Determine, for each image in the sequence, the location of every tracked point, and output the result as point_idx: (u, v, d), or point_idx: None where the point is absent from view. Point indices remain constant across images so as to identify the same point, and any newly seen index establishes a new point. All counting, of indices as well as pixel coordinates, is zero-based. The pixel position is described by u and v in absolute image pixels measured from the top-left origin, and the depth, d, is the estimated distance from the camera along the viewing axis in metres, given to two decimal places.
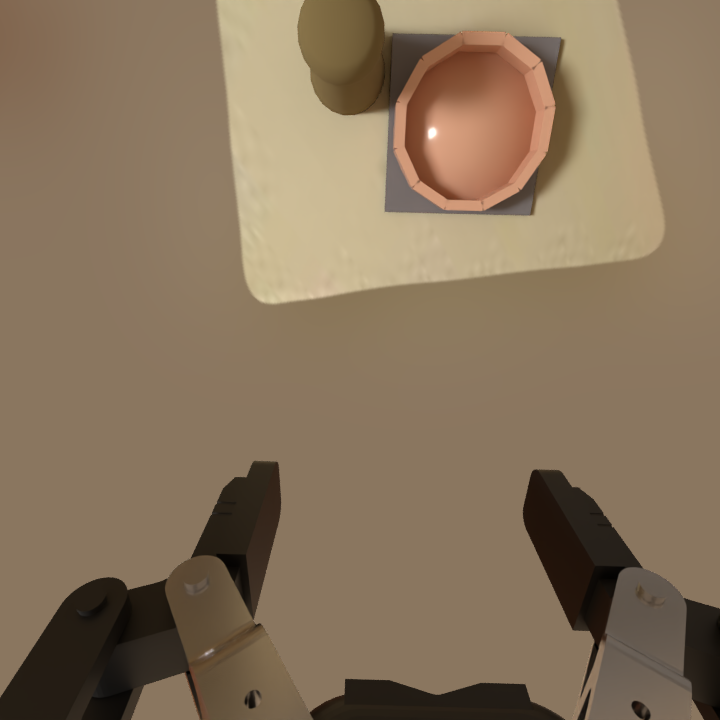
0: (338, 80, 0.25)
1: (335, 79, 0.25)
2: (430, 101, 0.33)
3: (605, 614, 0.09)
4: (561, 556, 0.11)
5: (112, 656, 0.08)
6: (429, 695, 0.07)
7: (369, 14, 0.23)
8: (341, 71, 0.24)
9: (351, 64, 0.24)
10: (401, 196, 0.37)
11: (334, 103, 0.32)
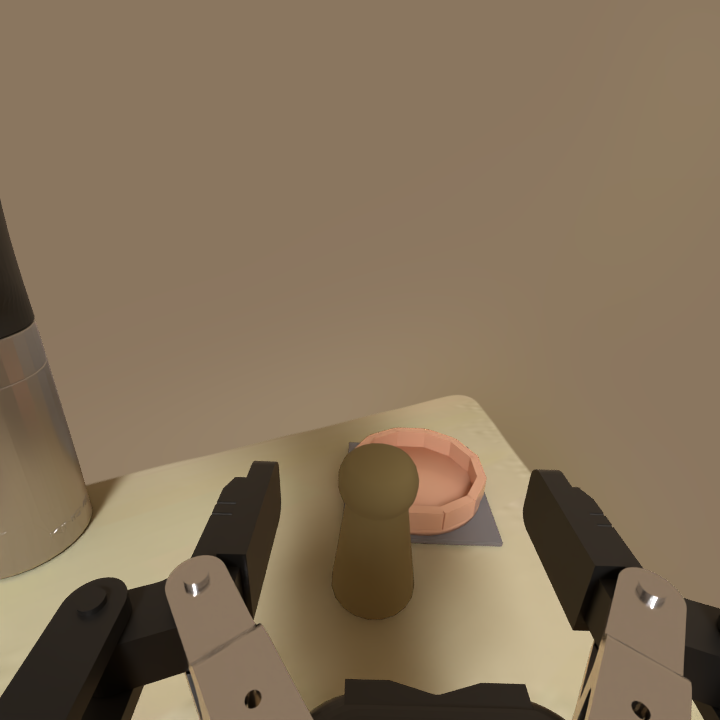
0: (417, 473, 0.26)
1: (417, 474, 0.26)
2: None
3: (605, 614, 0.09)
4: (561, 555, 0.11)
5: (112, 656, 0.08)
6: (429, 695, 0.07)
7: (370, 444, 0.28)
8: (412, 463, 0.26)
9: (407, 455, 0.27)
10: (482, 529, 0.35)
11: (410, 568, 0.29)
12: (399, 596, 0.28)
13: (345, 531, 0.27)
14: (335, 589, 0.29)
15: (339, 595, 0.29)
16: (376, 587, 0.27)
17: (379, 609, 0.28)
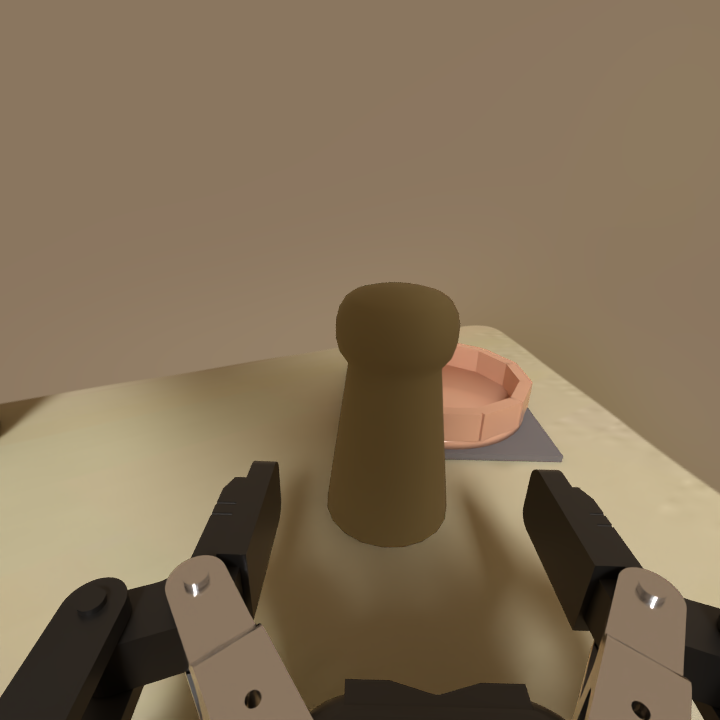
0: None
1: (457, 314, 0.17)
2: None
3: (605, 614, 0.09)
4: (561, 555, 0.11)
5: (112, 656, 0.08)
6: (429, 695, 0.07)
7: None
8: (449, 298, 0.17)
9: (439, 291, 0.18)
10: (532, 442, 0.25)
11: (443, 474, 0.19)
12: (429, 512, 0.19)
13: (346, 412, 0.18)
14: (333, 508, 0.20)
15: (339, 515, 0.19)
16: (396, 494, 0.18)
17: (399, 530, 0.18)
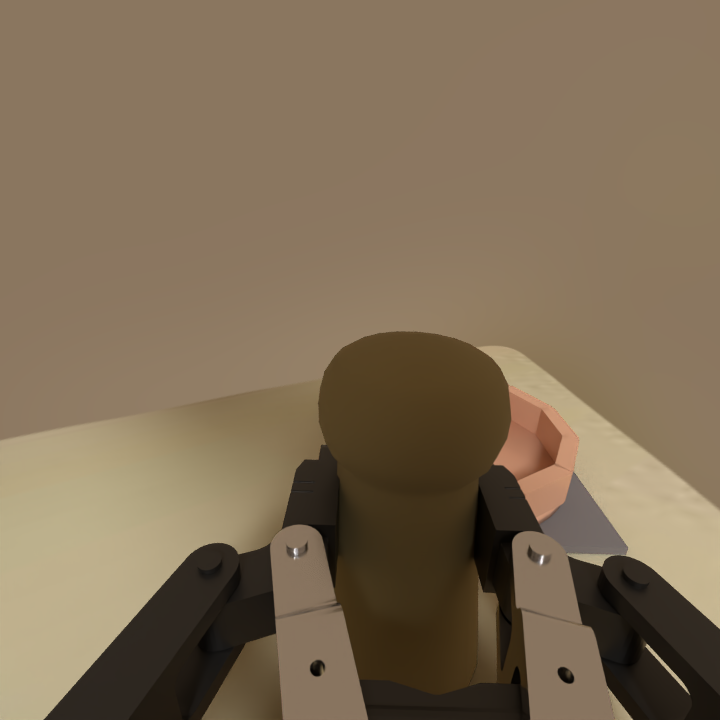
0: None
1: (507, 387, 0.11)
2: None
3: (504, 574, 0.10)
4: (478, 525, 0.12)
5: (217, 618, 0.09)
6: (429, 695, 0.07)
7: (391, 332, 0.12)
8: (494, 362, 0.11)
9: None
10: (583, 523, 0.19)
11: (477, 606, 0.13)
12: (457, 670, 0.13)
13: None
14: None
15: None
16: (409, 654, 0.12)
17: None
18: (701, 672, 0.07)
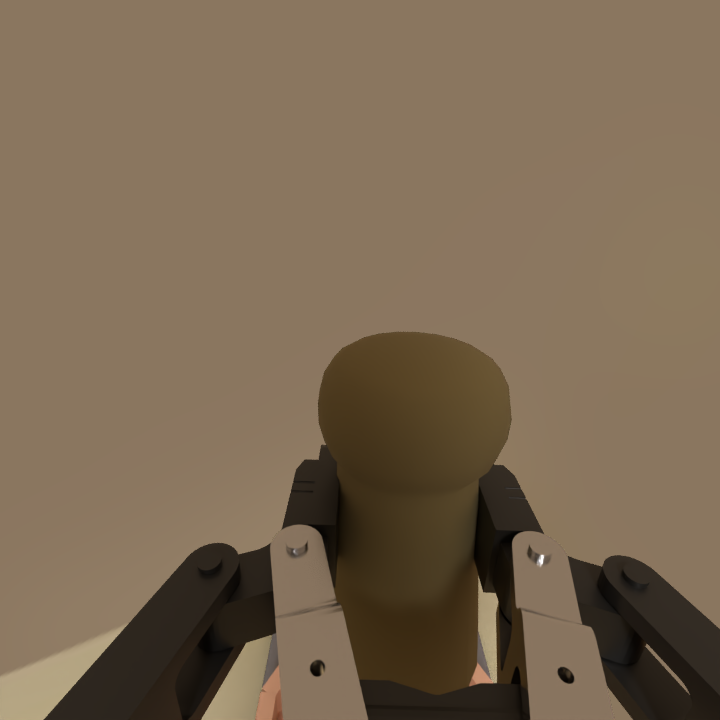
0: None
1: (507, 387, 0.11)
2: None
3: (504, 574, 0.10)
4: (478, 525, 0.12)
5: (217, 618, 0.09)
6: (429, 695, 0.07)
7: None
8: (494, 363, 0.11)
9: (477, 349, 0.12)
10: None
11: (477, 607, 0.13)
12: (457, 671, 0.13)
13: None
14: None
15: None
16: (410, 656, 0.12)
17: None
18: (701, 672, 0.07)
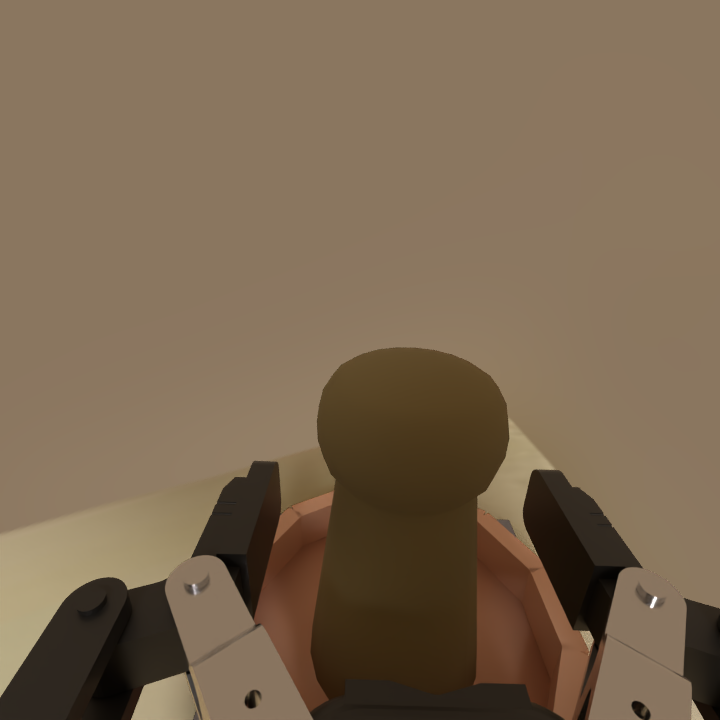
0: None
1: (505, 405, 0.11)
2: None
3: (605, 614, 0.09)
4: (561, 555, 0.11)
5: (112, 656, 0.08)
6: (429, 695, 0.07)
7: (390, 348, 0.12)
8: (492, 380, 0.11)
9: (475, 366, 0.12)
10: None
11: (476, 620, 0.13)
12: (456, 684, 0.13)
13: (334, 542, 0.12)
14: (316, 663, 0.14)
15: (324, 679, 0.13)
16: (408, 670, 0.12)
17: None
18: None
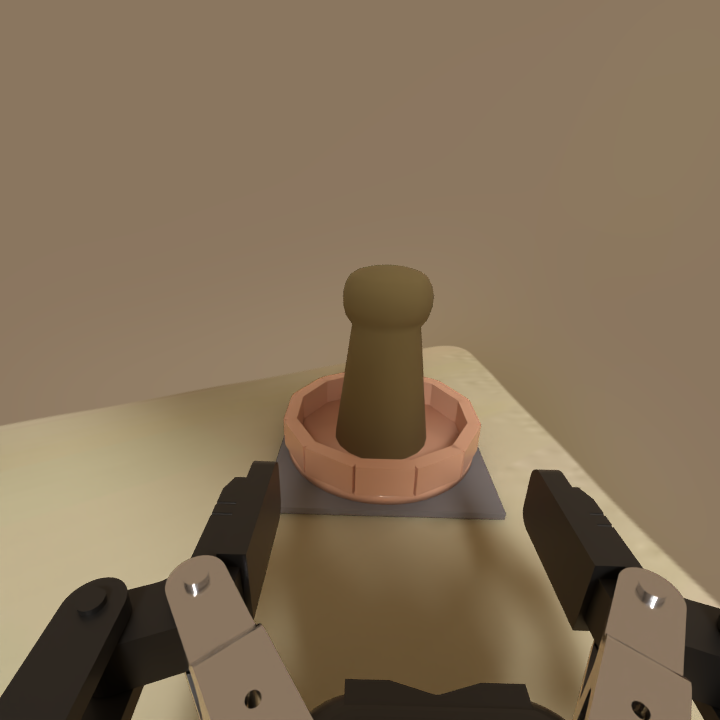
0: (431, 288, 0.24)
1: (431, 287, 0.23)
2: None
3: (605, 614, 0.09)
4: (561, 555, 0.11)
5: (112, 656, 0.08)
6: (429, 695, 0.07)
7: None
8: (426, 276, 0.23)
9: None
10: (475, 495, 0.23)
11: (423, 410, 0.26)
12: (411, 436, 0.25)
13: (350, 360, 0.24)
14: (339, 436, 0.26)
15: (344, 440, 0.26)
16: (386, 420, 0.24)
17: (389, 448, 0.25)
18: None
